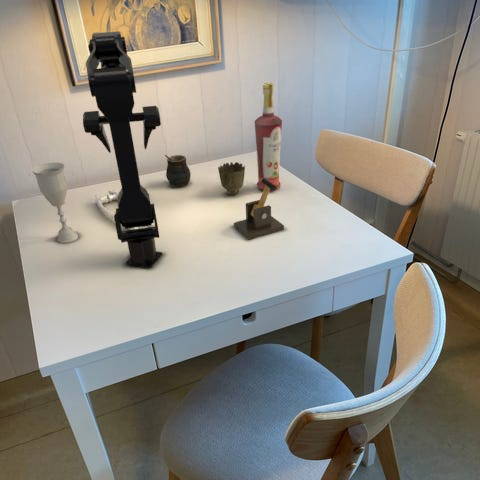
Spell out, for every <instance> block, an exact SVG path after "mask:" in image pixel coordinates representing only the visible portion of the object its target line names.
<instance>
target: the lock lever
mask: <svg viewBox="0 0 480 480" xmlns="http://www.w3.org/2000/svg"><path fill="white" fill-rule="evenodd" d="M261 182H262V184H264V185H265V187H264V190H262V193H261V195H260V198H259V200H260V201H259V203H258V205H257V204H254V206H253V209H257V208H260V207H264V206H265V204H266V201H267V199H268V196H269V193H270V192H271V191H270V189H271V190H273V191H272V192H274V191H276V190H277V189H276V186H275V185H274V184H272V183H271V182H269V181H268V180H266V179H265V178H264V179H262V181H261ZM275 189H276V190H275ZM253 209H252V212H251V215H252V216H253Z"/></svg>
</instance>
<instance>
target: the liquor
mask: <svg viewBox="0 0 480 480" xmlns="http://www.w3.org/2000/svg"><path fill="white" fill-rule="evenodd" d="M262 95H263V104H262V105H263V106H262V115H259V117H257V118H256V119H255V120H254V134H255V146H256V147H255V148H256V149H255V150H256V161H257V179H258V180H257V182H256V186H257V187H258V188H259V190H261V191H263V190H264V187H265V185H264V184H262V182H261V181H262V179H264V178H265V179H266V180H268V181H269V182H271V183H272V184H274V185H275V186H276V189H275V190H274V191H276V190H277V189H278V188H279V187H280V186H281V181H280V164H281V163H280V162H281V161H280V160H281V149H282V148H281V147H282V129H283V120H282V119H281V118H280V117H279V116H277V115H275V112H274V100H273V95H274V83H272V82H263V83H262ZM274 191H273V190H271V189H270V191H269V192H274Z"/></svg>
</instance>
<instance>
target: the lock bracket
mask: <svg viewBox="0 0 480 480" xmlns="http://www.w3.org/2000/svg"><path fill="white" fill-rule="evenodd" d="M259 201H260V199H257V200H253V201H249V202H246V203H245V219H242V220H239V221H235V222H233V227H234V228H235V229H236V230H237V231H238V232H239V233H240V234H241V235H242V236H243V237H245V238H246V239H247V240H253V239H256V238H259V237H263V236H267V235H270V234H274V233H277V232H281V231H284V230H285V225H284V224H283V223H281V222H280V221H279V220H277V219H276V218H275V217H273V216H272V206H271V205H269V204H268V205H264V206H263V207H260V208H257V209H253V206H254V204H257V205H258V203H259ZM252 209H253V216H252V215H251V212H252Z"/></svg>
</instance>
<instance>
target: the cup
mask: <svg viewBox="0 0 480 480" xmlns="http://www.w3.org/2000/svg"><path fill="white" fill-rule="evenodd" d="M219 165H220V166H217V169H218V174H219V180H220V184H221V186H222V187H223V189H224V190H226V191H225V193H226V194H227V196H231V197H232V196H233V197H234V196H237V195H239V193H240V189H241V188H242V187H243V185H244V181H245V173H246V172H245V170H246V165H245V164H244V165H243V163H241V162H237V161H236V162H234V163H233V162H230V163H228V162H226V163H225V162H224V163H223V164H219Z"/></svg>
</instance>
